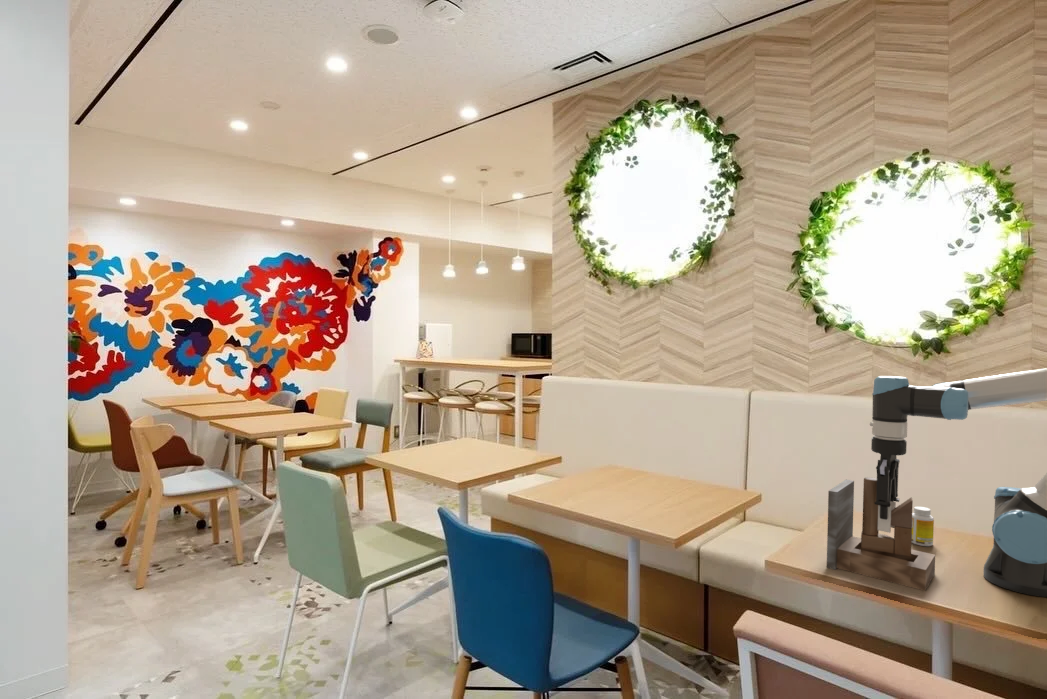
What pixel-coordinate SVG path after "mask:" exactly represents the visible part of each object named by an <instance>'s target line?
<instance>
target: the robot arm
mask: <svg viewBox="0 0 1047 699" xmlns="http://www.w3.org/2000/svg"><path fill="white" fill-rule="evenodd" d="M872 389H873V390H872V394H871V395H872V414H871V416H872V422H870V423H869V426H870V427H872V428H871V434H872V435H873V436H872V437H871V448H870V449H871V452H873V453H876V454H879V455H880V458H879V459H877V465H876V467H875V469H876V478H877V494H876V502H875V504H876V505H878V530H879V531H880V532H884V533H889V534H890V533H891V528H892V529H894V526H892V525H891V511H892V510H893V509H895V508H896V507H897V506H896V502H897V503H899V502H900V498H898V496H899V493H898V491H899V468H900V459H899V458H897V456H904V455H906V454H907V444H908V442H907V440H906V438H907V437H908V416H911V417H925V418H934V419H941V420H942V419H944V420H947V421H951V420H956V421H957V420H958V421H960V420H961V421H962V420H963V421H964V420H965V419H967V418H968V413H969V411H970V410H976V409H984V408H985V409H987V408H995V407H1003V406H1004V407H1005V406H1011V405H1021V404H1029V403H1038V402H1045V401H1047V367H1045V368H1038V369H1031V370H1024V371H1018V372H1017V371H1016V372H1010V373H1004V374H998V375H996V374H995V375H991V376H990V375H989V376H983V377H978V378H976V377H975V378H969V379H964V380H957V381H950V382H945V381H944V382H937V383H934V384H933V385H931V386H921V385H918V386H917V385H912V384H910V383H909V378H907V377H905V376H895V375H894V376H893V375H879V376H877V377H875V378H874V380H873V388H872ZM993 499H994V514H993V516H994V517H993V523H992V526H991V531H992V535H993V545H992V548H991V550H990V553H989V555H988V557H987V559H986V561H985V563H984V566H983V571H982V572H983V577H984V578H985V579H986V580H987V581H988V582H989V583H992V584H994V585H995V586H998V587H1001V588H1004V589H1006V590H1009V591H1013V592H1015V593H1020V594H1024V595H1029V596H1033V597H1034V596H1035V597H1043V598H1047V472H1046V473H1045V474H1044V475H1043V477H1041V479H1040V480H1038V482H1037V483H1036V484H1035V485H1034V486H1032V487H1021V488H1020V487H1019V488H1018V487H1013V486H1012V487H1011V486H999V487H997V488H996V489H995V492H994V496H993Z"/></svg>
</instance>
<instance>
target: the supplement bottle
mask: <svg viewBox="0 0 1047 699" xmlns="http://www.w3.org/2000/svg"><path fill="white" fill-rule="evenodd" d="M931 514H932V510H931V508H929V507H926V506H914V507H913V512H912V542H911V544H914V545H916V546H917V545H918V546H921V547H931V546H933V545H934V532H935V531H934V530H935V529H934V528H935V527H934V525H935V519H934V517H933V516H932V515H931Z"/></svg>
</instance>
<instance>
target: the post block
mask: <svg viewBox="0 0 1047 699" xmlns="http://www.w3.org/2000/svg"><path fill="white" fill-rule="evenodd" d="M854 491H855V480H851V479H844V480H843V481H841V482H840V483H839V484H837V485H835V486H833V487H832V488H831V489H829V490H828V499H827V500H828V501H827V502H828V503H827V504H828V506H827V507H828V508H827V537H826V538H827V539H826V540H827V541H826V543H827V544H826V546H827V547H826V568H828V569H830V570H837V569H839V570H844V571H848V572H849V573H850V572H851V573H855V574H858V575H863V576H865V577H871V578H874V579H879V580H881V581H886V582H889V583H893V584H897V585H901V586H905V587H908V588H913V589H916V590H920V591H925V592H926V590H927V588H928V587H929V585H930V583H931V582H932V580H933V578H934V576H935V575H936V554H934V553H933V554H932V553H929V552H925V551H921V550H915V549H913V548H911V557H908V556H902V555H897V554H894V553H893V554H892V553H887V552H881V551H875V550H870V549H864V548H861V537H856V536H854V535H853V534H854V498H855V492H854Z"/></svg>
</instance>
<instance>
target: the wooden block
mask: <svg viewBox="0 0 1047 699" xmlns="http://www.w3.org/2000/svg"><path fill="white" fill-rule="evenodd" d="M862 492H863V494H862V495H863V496H862V497H863V498H862V524H861V525H862V526H861V527H862V529H861V530H862V531H861V535H860V538H861V548H864V549H870V550H875V551H881V552H887V553H892V554H893V553H894V554H897V555H902V556H908V557H911V549H912V513H913V498H912V497H909V498H908V499H907V500H905V501H904V502H902V503H900V504H899V505H897V506H896V508H895V509H893V510H892V511H891V525H892V526H894V528H893V532H894V533H893V537H892V536H889V535H887V534H882V533H879V530H878V505H876V504H875V502H876V494H877V477H870V476H869V477H868V476H867V477H864V478H863V491H862Z"/></svg>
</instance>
